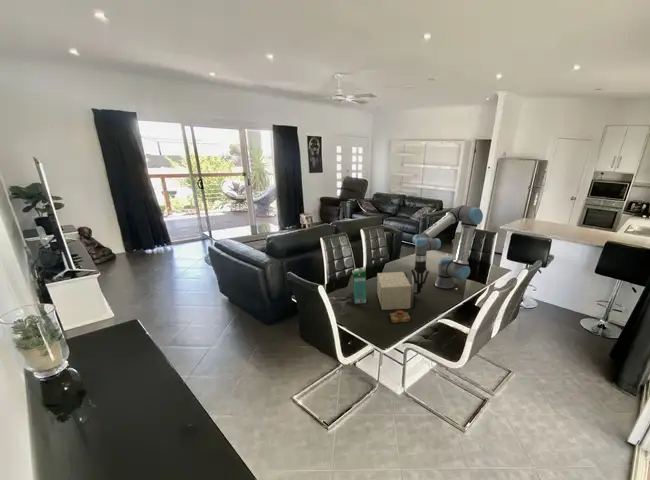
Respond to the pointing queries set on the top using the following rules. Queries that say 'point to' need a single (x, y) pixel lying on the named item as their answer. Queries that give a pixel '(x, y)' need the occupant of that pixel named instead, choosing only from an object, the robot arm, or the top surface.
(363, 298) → the milk carton
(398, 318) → the tan button base
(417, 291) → the door
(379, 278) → the beige box
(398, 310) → the button
